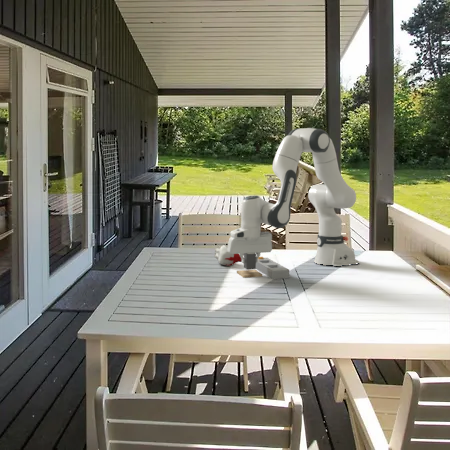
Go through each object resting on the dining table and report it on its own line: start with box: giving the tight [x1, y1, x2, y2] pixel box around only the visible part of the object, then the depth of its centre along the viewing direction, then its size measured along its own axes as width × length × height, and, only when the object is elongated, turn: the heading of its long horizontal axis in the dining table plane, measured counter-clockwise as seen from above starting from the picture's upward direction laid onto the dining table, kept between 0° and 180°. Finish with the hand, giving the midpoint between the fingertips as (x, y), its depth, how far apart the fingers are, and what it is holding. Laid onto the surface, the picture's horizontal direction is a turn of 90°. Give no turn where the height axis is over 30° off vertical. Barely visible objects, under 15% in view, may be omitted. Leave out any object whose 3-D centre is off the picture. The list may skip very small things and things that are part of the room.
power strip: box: [255, 256, 290, 280], centre depth 253 cm, size 8×32×4 cm, turn 18°
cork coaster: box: [236, 269, 263, 278], centre depth 244 cm, size 9×9×1 cm
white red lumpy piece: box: [214, 244, 244, 267], centre depth 263 cm, size 9×11×15 cm
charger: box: [243, 253, 257, 270], centre depth 243 cm, size 4×4×7 cm
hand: (249, 262), depth 243 cm, fingers closed on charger, 4 cm apart
